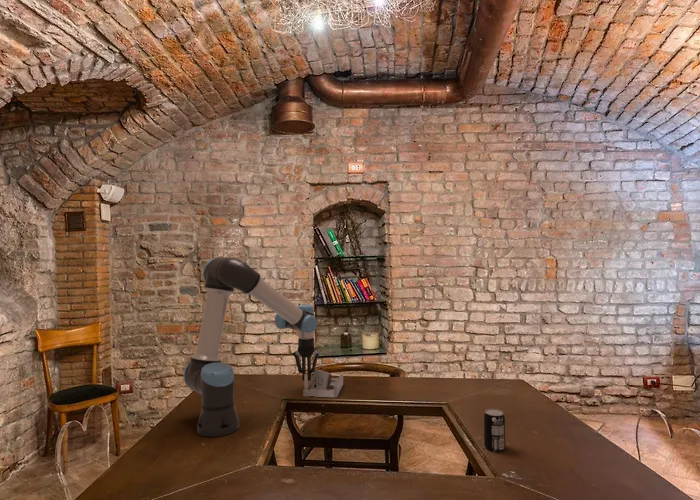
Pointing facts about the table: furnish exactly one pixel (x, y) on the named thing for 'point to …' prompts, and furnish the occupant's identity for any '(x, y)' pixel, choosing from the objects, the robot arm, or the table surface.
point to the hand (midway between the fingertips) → (306, 387)
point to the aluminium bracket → (326, 392)
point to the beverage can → (494, 430)
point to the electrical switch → (321, 380)
